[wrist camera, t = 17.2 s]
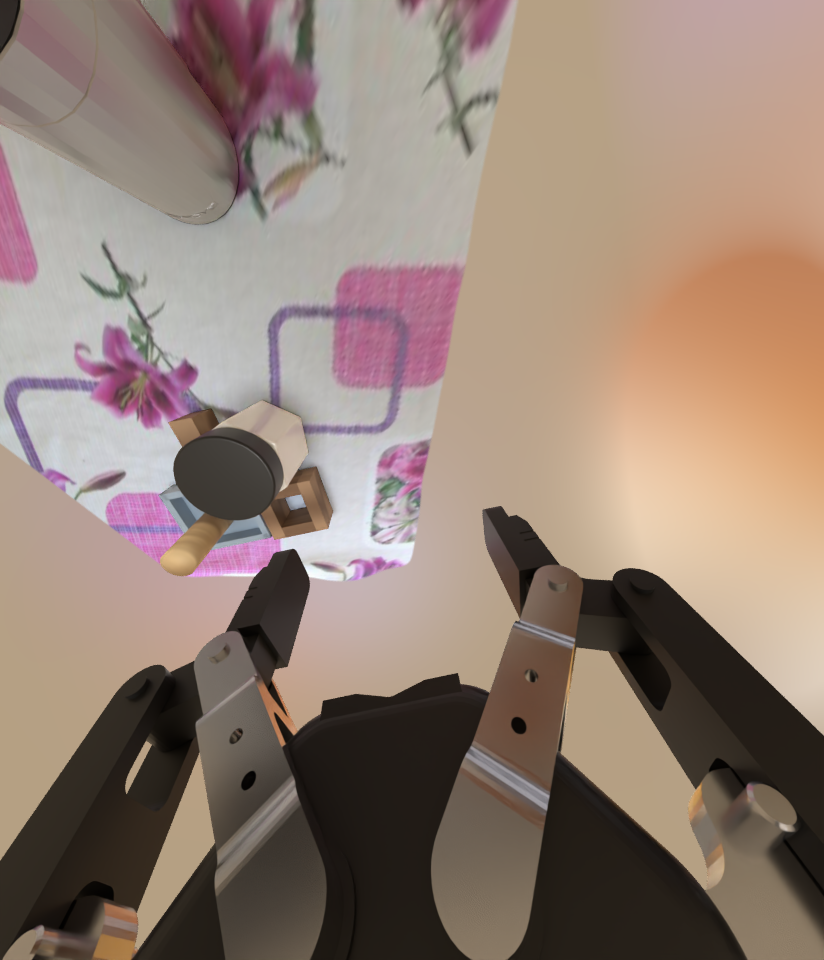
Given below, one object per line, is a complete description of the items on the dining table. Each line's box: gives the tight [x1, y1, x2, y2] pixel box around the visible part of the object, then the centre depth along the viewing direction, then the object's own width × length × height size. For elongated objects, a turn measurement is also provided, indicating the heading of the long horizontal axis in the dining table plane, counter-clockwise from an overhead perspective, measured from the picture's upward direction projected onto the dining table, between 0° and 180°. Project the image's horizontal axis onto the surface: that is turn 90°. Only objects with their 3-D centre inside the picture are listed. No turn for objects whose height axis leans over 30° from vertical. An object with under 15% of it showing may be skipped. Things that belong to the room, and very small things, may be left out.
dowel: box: [160, 513, 233, 576], centre depth 34 cm, size 3×3×10 cm
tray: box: [159, 485, 272, 550], centre depth 38 cm, size 9×10×2 cm
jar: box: [173, 400, 308, 521], centre depth 30 cm, size 9×8×12 cm
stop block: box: [168, 409, 219, 447], centre depth 34 cm, size 7×2×4 cm, turn 11°
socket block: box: [261, 467, 333, 540], centre depth 38 cm, size 7×7×4 cm
